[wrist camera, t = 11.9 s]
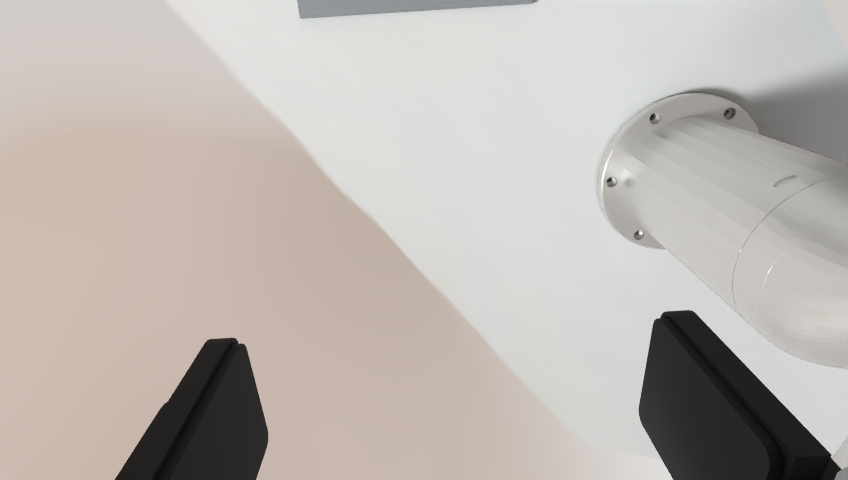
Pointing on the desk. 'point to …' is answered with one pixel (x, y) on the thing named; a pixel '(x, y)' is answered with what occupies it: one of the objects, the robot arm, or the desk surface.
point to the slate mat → (389, 6)
